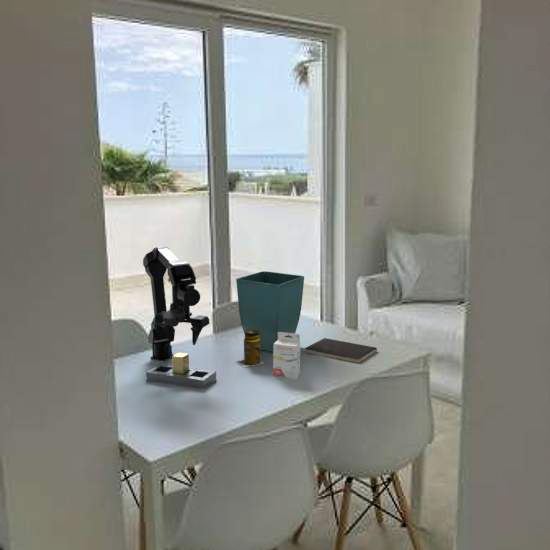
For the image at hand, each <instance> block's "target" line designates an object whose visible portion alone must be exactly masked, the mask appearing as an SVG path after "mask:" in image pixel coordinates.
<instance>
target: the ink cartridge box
mask: <svg viewBox="0 0 550 550" xmlns="http://www.w3.org/2000/svg"><path fill="white" fill-rule="evenodd" d="M288 335H289V336H292V338H287V337H285V336H288ZM272 353H273V354H272V357H273V359H272V363H273V365H272V367H273V368H272V369H273V371H272V373H273V374H272V375H273V376H274V377H275V376H276V377H281V378H290V379H297V378H298V376H300V374H301V340H300V333H295V334H294V333H285V332H278V340H277V341H276V342H275V343H274V344H273V352H272Z"/></svg>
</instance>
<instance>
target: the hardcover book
mask: <svg viewBox="0 0 550 550" xmlns="http://www.w3.org/2000/svg"><path fill="white" fill-rule="evenodd" d="M377 349H378V348H377V347H375V346H370V345H365V344H360V343H353V342H348V341H344V340H339V339H331V338H326V337H324V338H322V339H319V340H318V341H316V342H314V343H312V344H310V345H308V346H306V347H304V350H305V353H309V354H313V355H317V356H322V357H328V358H332V359H333V358H334V359H338V360H344V361H348V362H353V363H358V364H359V363H360V362H361V361H364V360H365V359H367V358H368V357H370V356H371V355H373V354H374V353H377V351H378V350H377Z"/></svg>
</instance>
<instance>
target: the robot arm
mask: <svg viewBox="0 0 550 550" xmlns="http://www.w3.org/2000/svg"><path fill="white" fill-rule="evenodd" d="M142 265H143V267H144V271H145V273H146V274H147V276H148V277H149V278H150V286H151V296H152V304H153V305H152V306H153V315H154V317H153V320H152V322H151V323H150V329H149V330H150V331H149V333H148V336H147V340H148V343H149V344H150V345H152V346H151V347H152V350H151V351H152V355H151V356H150V357H149V358H150V359H151V360H157V361H167V360H169V359H170V358H172V356H173V355H174V354H173V349H172V347H173V346H172V345H171V343H172V342H175V335H176V328H175V327H177V326H178V325H179V323H181V324H183V323H186V324H190V325H191V327H190V330H191V331H192V334H191V335H192V336H191V337H192V345H193V346H196V344H197V341H198V338H199V336H200V334H201V332H202V330H203V328H205V327H206V326H208V325H210V318H209V316H207V315H202V314H201V315H196V316H195V317H192V315H193V313H192V312H191V309H190V308H191V307H194V306H196V305H198V303H199V302H200V301H201V293H200V292H199V291H198V289H196V288H195V285H196V284H197V277H196V275H195V271H194V269H193V267H192V265H191V264H190V263H189V262H188V261H185V260H181V259H178V257H176V256H175V255H174V253H172V251H170V248H169V247H168V246H155V247H153V249H152V250H151V251H149V252H147V253H145V255H144V257H143V260H142ZM166 273H167V276H168V279H169V281H170V285H171V295H172V296H171V297H172V302H171V303H170V305H169V309H168V310H167V300H166V291H165V290H166V289H165V281H164V277H165V274H166Z"/></svg>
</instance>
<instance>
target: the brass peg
mask: <svg viewBox="0 0 550 550" xmlns="http://www.w3.org/2000/svg"><path fill="white" fill-rule="evenodd" d="M171 360H172V364H171V365H173V374H179V375H185V374H186V373H188V372H189V368H190V356H189V353H187V352H186V353H184V352H177V353H175V354H173V356H172V357H171Z"/></svg>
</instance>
